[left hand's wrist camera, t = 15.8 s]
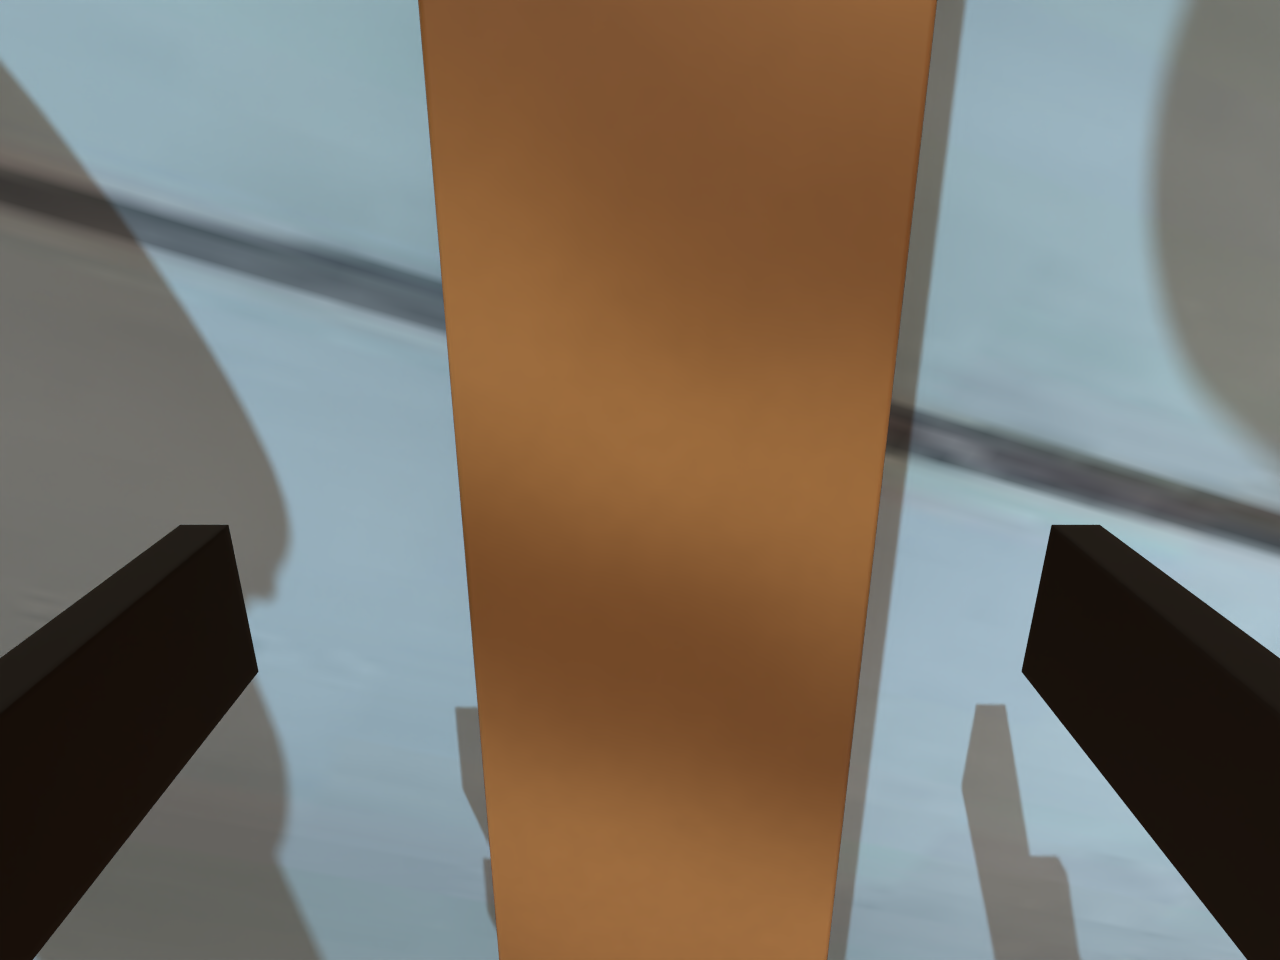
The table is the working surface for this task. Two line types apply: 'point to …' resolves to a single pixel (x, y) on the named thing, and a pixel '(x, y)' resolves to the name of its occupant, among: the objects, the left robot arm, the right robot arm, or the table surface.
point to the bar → (670, 443)
